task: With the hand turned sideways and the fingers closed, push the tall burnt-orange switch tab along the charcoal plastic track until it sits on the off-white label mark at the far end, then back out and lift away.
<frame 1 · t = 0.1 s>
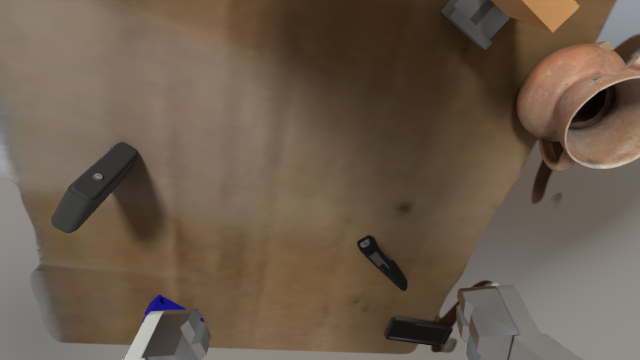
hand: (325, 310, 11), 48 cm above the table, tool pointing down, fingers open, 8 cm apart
electric trimmer: (383, 257, 76), on the table
ceramic jug: (555, 91, 56), on the table
phone: (417, 328, 88), on the table
card reader: (120, 160, 65), on the table
blue cradle holder: (177, 309, 87), on the table
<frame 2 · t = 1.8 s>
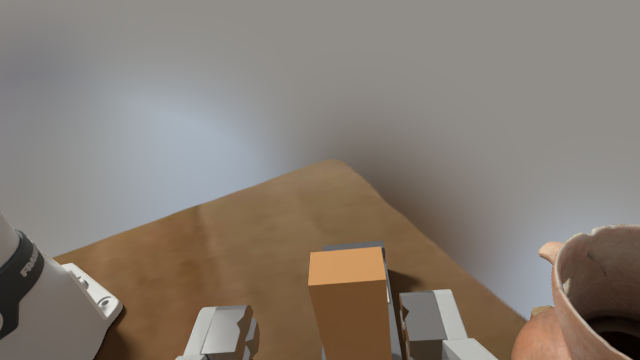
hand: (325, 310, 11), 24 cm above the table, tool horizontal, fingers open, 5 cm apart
switch track: (361, 346, 36), on the table
switch tab: (354, 321, 28), point 9 cm above the table, slide at 0.0 cm
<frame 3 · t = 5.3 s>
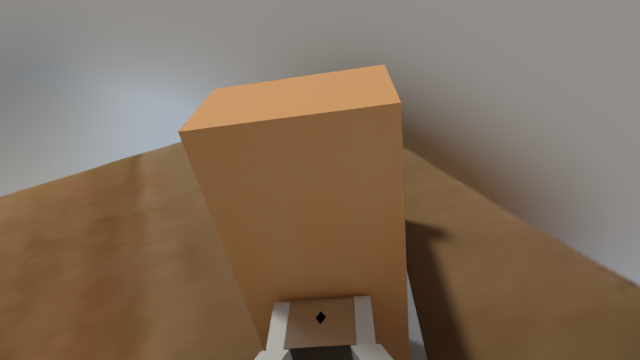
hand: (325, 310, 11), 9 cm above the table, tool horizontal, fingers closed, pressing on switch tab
switch track: (350, 330, 21), on the table
switch tab: (325, 262, 12), point 9 cm above the table, slide at 0.0 cm, touching gripper
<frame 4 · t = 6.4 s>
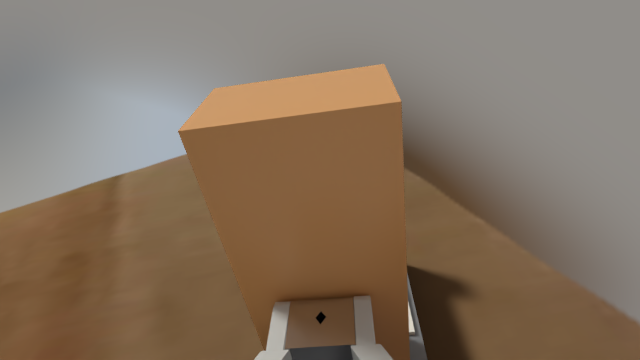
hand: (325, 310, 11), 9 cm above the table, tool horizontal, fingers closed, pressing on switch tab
switch tab: (325, 262, 12), point 10 cm above the table, slide at 5.1 cm, touching gripper
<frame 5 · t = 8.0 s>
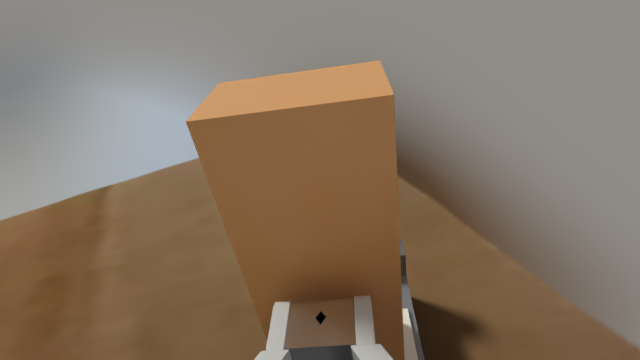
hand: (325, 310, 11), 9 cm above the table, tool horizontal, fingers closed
switch tab: (324, 250, 13), point 9 cm above the table, slide at 8.4 cm
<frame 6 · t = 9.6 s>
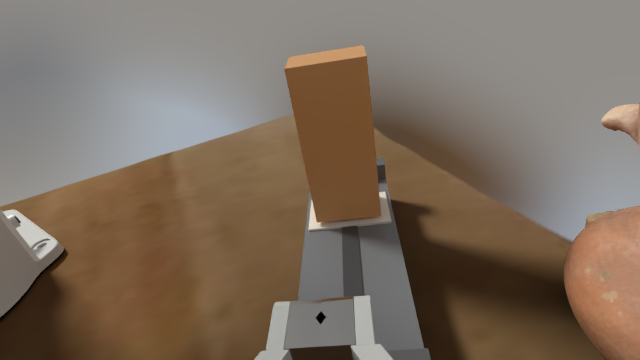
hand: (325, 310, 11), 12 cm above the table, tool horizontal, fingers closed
switch track: (355, 279, 27), on the table
switch tab: (338, 141, 26), point 9 cm above the table, slide at 8.4 cm
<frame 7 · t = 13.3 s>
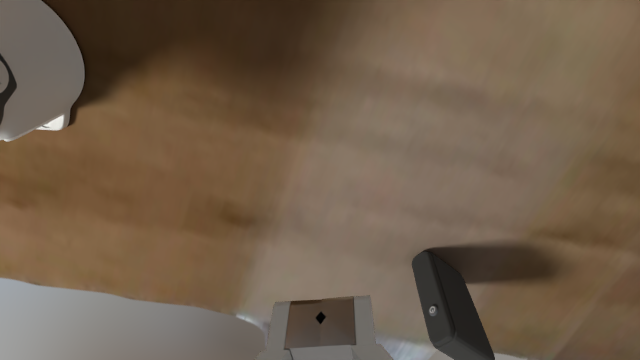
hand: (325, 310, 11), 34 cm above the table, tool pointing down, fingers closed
card reader: (435, 265, 57), on the table
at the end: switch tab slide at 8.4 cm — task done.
